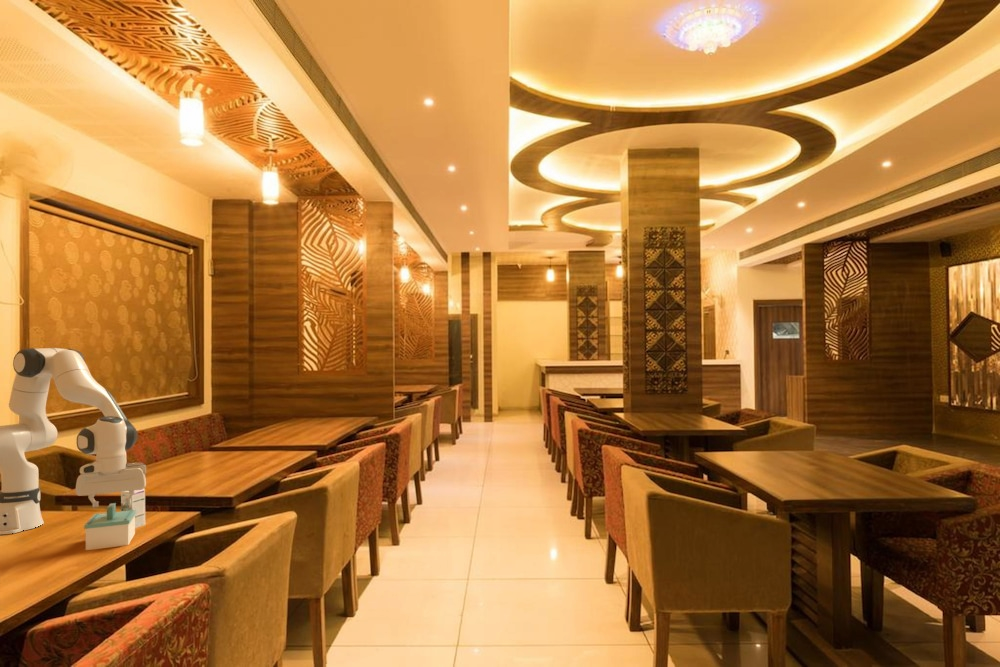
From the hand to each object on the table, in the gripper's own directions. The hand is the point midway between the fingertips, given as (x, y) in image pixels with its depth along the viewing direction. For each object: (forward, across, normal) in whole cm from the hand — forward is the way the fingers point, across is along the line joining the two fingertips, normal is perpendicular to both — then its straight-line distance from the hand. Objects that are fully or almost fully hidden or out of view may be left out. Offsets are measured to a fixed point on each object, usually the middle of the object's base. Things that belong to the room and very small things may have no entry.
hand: (111, 505), depth 208 cm
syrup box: (+13, -4, -18) cm, 23 cm away
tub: (+13, 0, 0) cm, 13 cm away
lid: (+6, 0, 0) cm, 6 cm away
